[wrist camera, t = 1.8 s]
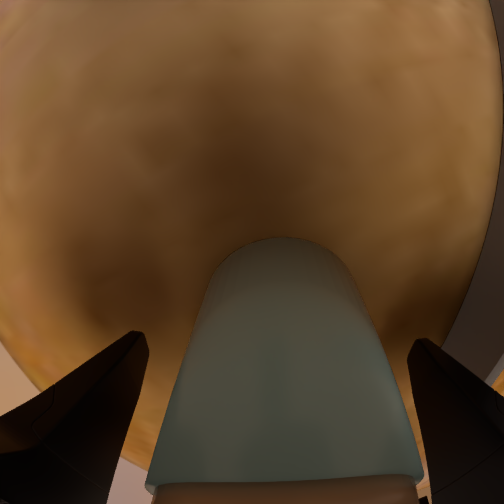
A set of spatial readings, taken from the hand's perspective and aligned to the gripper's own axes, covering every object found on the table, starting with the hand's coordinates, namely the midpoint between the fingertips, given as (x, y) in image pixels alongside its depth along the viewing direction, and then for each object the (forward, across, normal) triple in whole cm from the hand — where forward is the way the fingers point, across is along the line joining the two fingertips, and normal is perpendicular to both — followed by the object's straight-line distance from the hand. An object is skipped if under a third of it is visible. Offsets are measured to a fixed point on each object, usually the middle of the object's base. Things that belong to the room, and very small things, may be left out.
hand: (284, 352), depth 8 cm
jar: (+2, 0, 0) cm, 2 cm away
